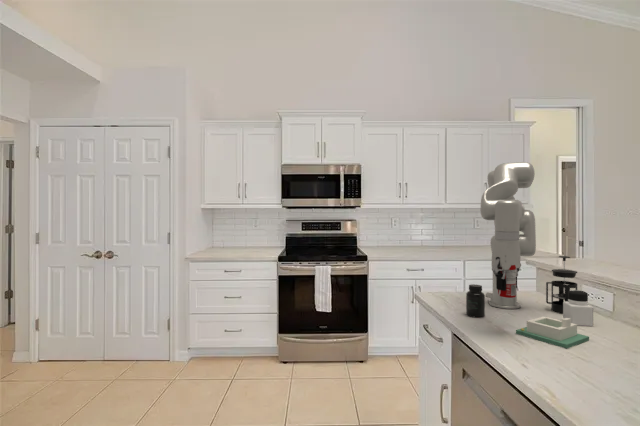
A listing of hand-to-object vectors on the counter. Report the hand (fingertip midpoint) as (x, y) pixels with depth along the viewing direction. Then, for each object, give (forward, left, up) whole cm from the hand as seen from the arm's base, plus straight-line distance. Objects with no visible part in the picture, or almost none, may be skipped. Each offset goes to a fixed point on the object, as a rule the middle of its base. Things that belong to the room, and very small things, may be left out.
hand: (506, 288), depth 126 cm
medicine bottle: (+7, +32, -15) cm, 37 cm away
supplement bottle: (-19, +8, -15) cm, 26 cm away
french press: (-4, +44, -15) cm, 47 cm away
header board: (+10, +8, -15) cm, 20 cm away
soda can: (0, 0, -3) cm, 3 cm away
